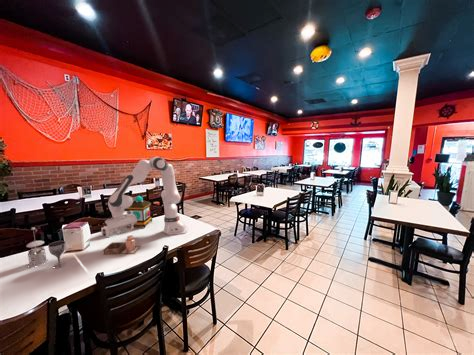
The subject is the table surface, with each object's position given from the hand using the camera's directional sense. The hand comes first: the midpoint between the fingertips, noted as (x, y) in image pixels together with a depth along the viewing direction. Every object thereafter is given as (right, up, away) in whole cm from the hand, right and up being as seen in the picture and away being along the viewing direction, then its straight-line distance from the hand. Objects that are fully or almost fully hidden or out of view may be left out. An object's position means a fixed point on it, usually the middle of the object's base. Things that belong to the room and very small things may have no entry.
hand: (126, 231), depth 144 cm
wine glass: (-32, -17, -20) cm, 41 cm away
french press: (-48, -16, -19) cm, 54 cm away
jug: (+5, -13, -2) cm, 14 cm away
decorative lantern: (-14, -7, +47) cm, 50 cm away
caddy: (-1, -14, -2) cm, 15 cm away
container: (-29, -10, +23) cm, 39 cm away
